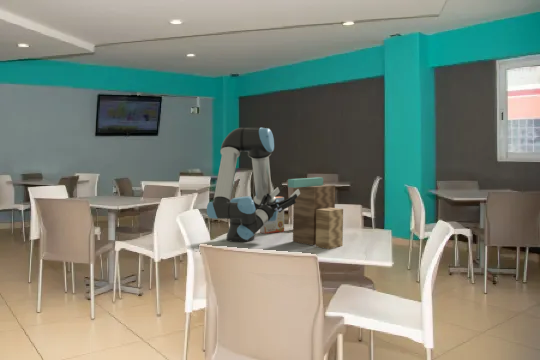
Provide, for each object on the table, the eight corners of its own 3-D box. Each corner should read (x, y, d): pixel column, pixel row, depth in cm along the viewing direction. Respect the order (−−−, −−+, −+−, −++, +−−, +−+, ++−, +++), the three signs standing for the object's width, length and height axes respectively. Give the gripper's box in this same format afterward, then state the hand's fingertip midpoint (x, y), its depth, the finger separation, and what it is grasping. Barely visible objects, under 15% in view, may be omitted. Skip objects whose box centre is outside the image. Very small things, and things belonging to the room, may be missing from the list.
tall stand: (313, 245, 249) (314, 187, 247) (292, 241, 259) (293, 185, 257) (334, 240, 262) (335, 185, 260) (313, 237, 272) (314, 184, 270)
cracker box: (278, 230, 294) (279, 196, 292) (284, 232, 289) (284, 197, 287) (259, 232, 286) (259, 197, 285) (264, 234, 281) (264, 198, 280)
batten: (294, 187, 243) (294, 179, 243) (288, 187, 246) (288, 179, 246) (323, 185, 261) (323, 177, 260) (317, 184, 263) (317, 177, 263)
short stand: (328, 249, 240) (329, 210, 239) (315, 246, 245) (316, 209, 244) (342, 245, 249) (343, 208, 247) (329, 243, 254) (330, 207, 253)
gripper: (247, 218, 240) (273, 194, 253) (284, 224, 223) (310, 198, 236) (241, 206, 237) (268, 182, 250) (279, 211, 220) (305, 185, 232)
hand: (288, 190), depth 243 cm, fingers open, 13 cm apart
